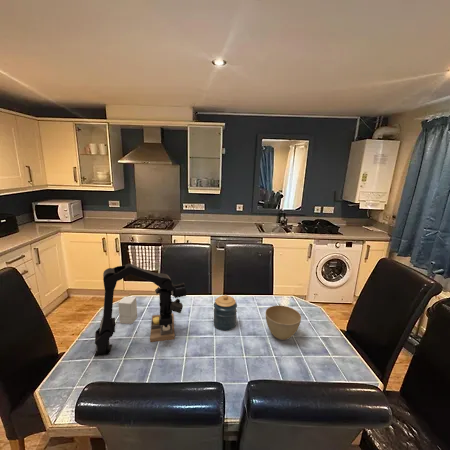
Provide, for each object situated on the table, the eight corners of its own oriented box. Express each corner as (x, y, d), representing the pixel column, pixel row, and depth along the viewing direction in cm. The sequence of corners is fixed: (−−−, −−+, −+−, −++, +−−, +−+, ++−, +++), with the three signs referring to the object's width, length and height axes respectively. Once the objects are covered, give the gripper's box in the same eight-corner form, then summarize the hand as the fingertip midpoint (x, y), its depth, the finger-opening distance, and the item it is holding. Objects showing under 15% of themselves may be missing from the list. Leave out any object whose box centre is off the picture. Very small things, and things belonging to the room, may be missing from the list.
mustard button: (160, 324, 134) (160, 320, 133) (153, 325, 133) (152, 321, 132) (160, 320, 137) (160, 316, 137) (153, 321, 136) (153, 317, 136)
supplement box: (137, 316, 146) (136, 297, 144) (132, 324, 139) (130, 303, 137) (125, 315, 147) (124, 296, 144) (119, 323, 140) (117, 302, 137)
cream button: (170, 332, 129) (170, 328, 129) (162, 333, 128) (162, 329, 128) (170, 328, 133) (170, 324, 132) (162, 329, 132) (162, 325, 131)
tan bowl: (300, 349, 123) (302, 326, 120) (263, 343, 126) (264, 321, 123) (297, 327, 140) (299, 307, 137) (265, 322, 143) (266, 303, 141)
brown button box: (174, 339, 128) (174, 332, 127) (150, 342, 125) (149, 335, 124) (173, 316, 148) (173, 310, 147) (152, 318, 145) (152, 312, 144)
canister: (227, 334, 133) (227, 303, 129) (208, 325, 140) (208, 296, 136) (240, 322, 143) (241, 294, 139) (222, 314, 150) (223, 287, 147)
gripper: (182, 307, 120) (183, 336, 123) (180, 289, 137) (181, 315, 141) (158, 309, 117) (159, 339, 120) (159, 291, 135) (160, 317, 138)
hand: (166, 326), depth 130 cm, fingers closed, pressing on cream button
